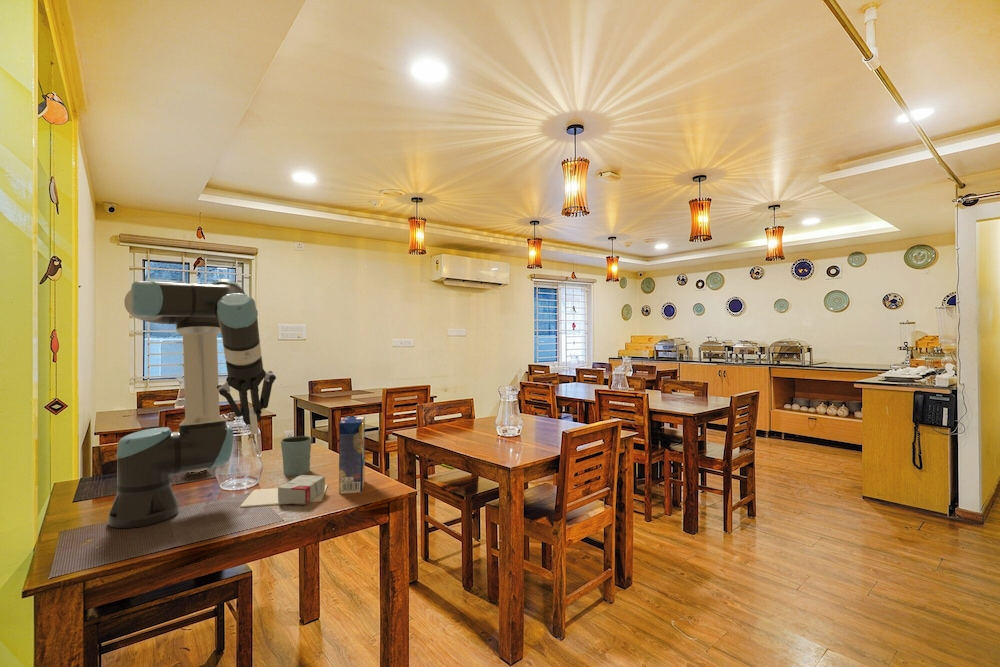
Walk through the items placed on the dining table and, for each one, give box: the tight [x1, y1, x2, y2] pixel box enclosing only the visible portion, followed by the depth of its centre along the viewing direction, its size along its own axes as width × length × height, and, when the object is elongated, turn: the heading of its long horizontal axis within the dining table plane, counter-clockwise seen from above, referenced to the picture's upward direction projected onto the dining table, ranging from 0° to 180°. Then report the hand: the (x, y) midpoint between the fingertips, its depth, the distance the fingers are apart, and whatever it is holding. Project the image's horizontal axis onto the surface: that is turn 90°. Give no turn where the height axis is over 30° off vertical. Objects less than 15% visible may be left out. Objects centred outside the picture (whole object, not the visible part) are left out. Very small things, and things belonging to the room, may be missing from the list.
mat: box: [239, 484, 329, 508], centre depth 143 cm, size 22×14×1 cm, turn 103°
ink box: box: [277, 474, 326, 506], centre depth 141 cm, size 9×5×12 cm
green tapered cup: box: [280, 435, 312, 477], centre depth 167 cm, size 10×10×12 cm
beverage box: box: [338, 415, 366, 495], centre depth 151 cm, size 7×11×22 cm, turn 12°
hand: (253, 430), depth 122 cm, fingers closed
